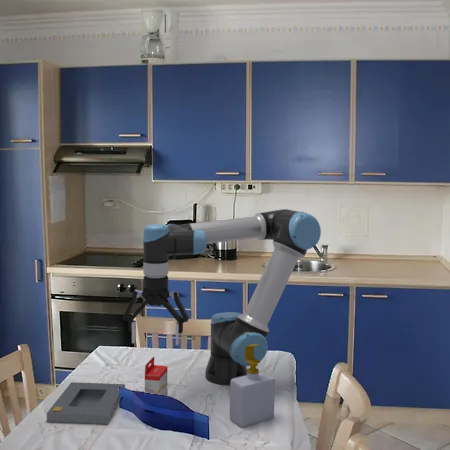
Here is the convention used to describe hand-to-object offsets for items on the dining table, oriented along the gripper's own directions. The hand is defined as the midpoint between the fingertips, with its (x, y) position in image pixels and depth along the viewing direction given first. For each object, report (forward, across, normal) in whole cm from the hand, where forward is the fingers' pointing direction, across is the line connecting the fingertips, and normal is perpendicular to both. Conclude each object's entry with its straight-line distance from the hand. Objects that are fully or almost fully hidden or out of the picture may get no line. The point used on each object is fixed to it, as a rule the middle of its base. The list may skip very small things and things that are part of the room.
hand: (155, 342), depth 169 cm
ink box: (+21, 0, 0) cm, 21 cm away
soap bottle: (+21, -30, +6) cm, 37 cm away
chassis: (+20, +21, +2) cm, 29 cm away
